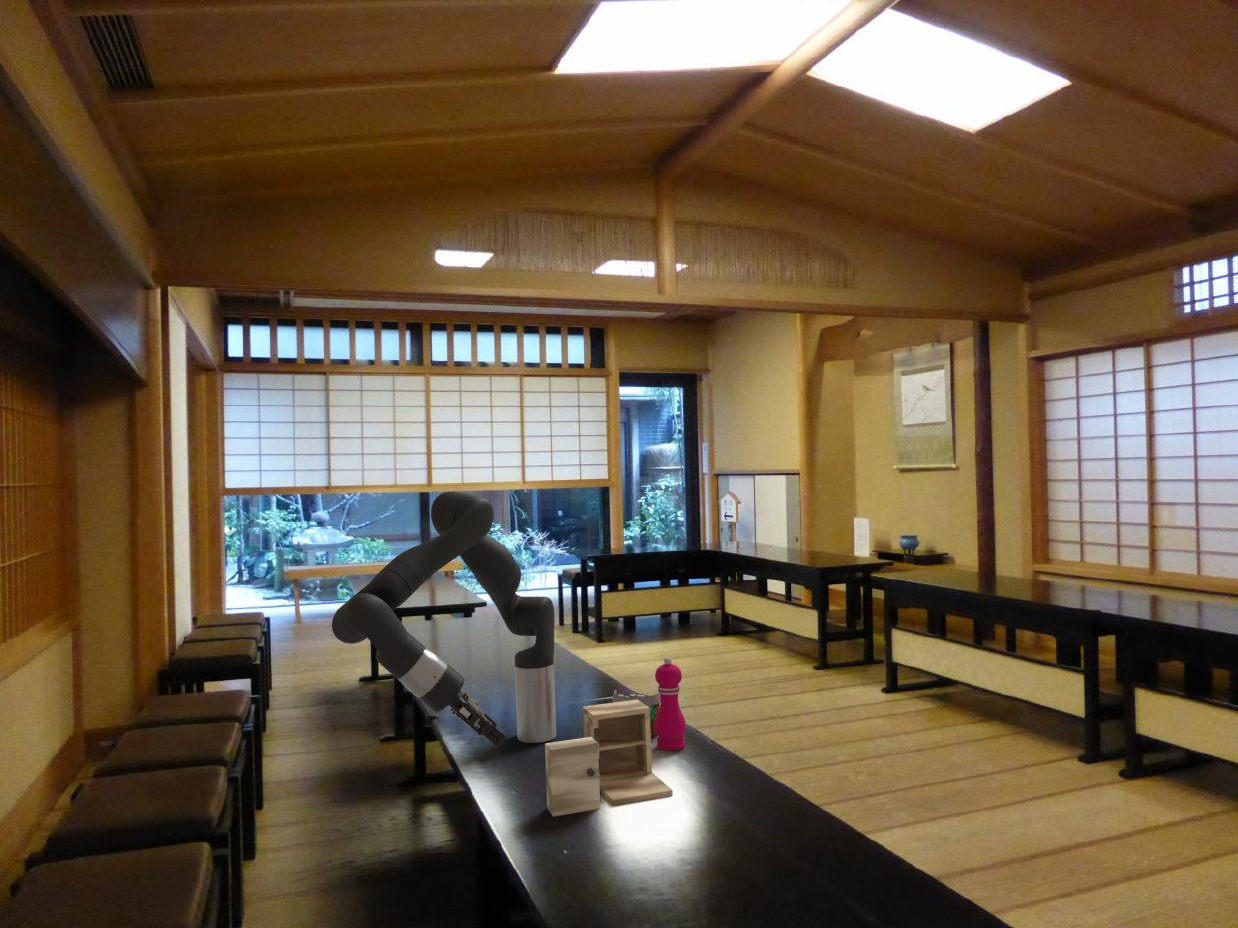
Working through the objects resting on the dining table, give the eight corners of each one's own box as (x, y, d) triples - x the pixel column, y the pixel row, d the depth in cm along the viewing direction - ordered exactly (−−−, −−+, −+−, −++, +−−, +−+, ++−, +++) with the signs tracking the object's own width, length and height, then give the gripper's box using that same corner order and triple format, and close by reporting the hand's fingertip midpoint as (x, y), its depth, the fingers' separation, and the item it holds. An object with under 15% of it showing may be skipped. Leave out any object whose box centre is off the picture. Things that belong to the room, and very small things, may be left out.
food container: (605, 738, 194) (603, 695, 194) (615, 731, 199) (613, 689, 199) (655, 743, 189) (653, 699, 189) (663, 735, 195) (662, 692, 195)
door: (547, 808, 154) (545, 743, 154) (593, 800, 157) (591, 736, 157) (554, 818, 149) (551, 751, 149) (601, 810, 152) (599, 744, 152)
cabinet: (585, 775, 170) (582, 706, 170) (639, 766, 174) (637, 699, 174) (613, 805, 154) (610, 729, 154) (672, 795, 158) (669, 721, 158)
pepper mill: (685, 752, 182) (681, 660, 182) (652, 751, 183) (649, 660, 184) (689, 741, 189) (685, 653, 189) (657, 740, 191) (654, 653, 191)
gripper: (451, 670, 140) (520, 729, 143) (440, 654, 153) (504, 708, 157) (420, 705, 138) (491, 764, 141) (411, 686, 151) (477, 741, 155)
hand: (497, 735), depth 149 cm, fingers open, 8 cm apart
